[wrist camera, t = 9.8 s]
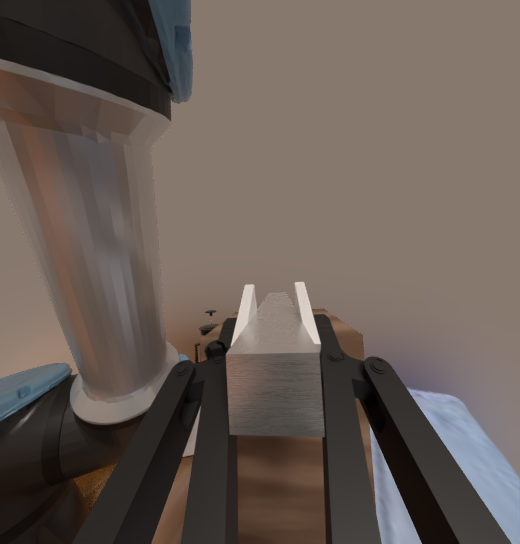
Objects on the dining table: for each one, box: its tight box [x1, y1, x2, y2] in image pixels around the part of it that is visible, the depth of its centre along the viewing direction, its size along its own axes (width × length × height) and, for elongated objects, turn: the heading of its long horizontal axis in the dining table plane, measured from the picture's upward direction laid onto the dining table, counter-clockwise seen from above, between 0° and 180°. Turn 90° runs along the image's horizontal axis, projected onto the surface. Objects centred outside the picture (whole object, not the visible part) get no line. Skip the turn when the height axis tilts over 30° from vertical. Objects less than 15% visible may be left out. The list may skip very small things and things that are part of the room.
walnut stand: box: [200, 309, 376, 544], centre depth 26 cm, size 16×16×28 cm
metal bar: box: [226, 292, 325, 437], centre depth 23 cm, size 32×4×3 cm, turn 174°
